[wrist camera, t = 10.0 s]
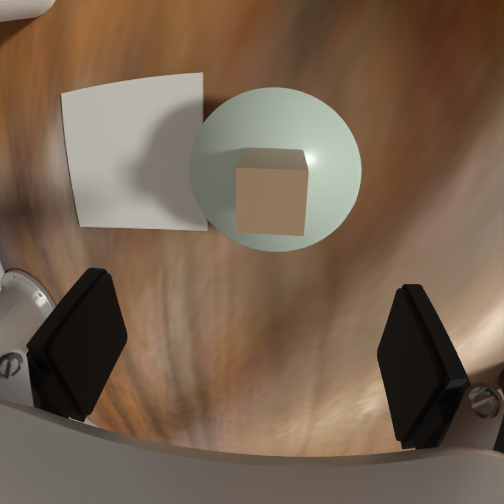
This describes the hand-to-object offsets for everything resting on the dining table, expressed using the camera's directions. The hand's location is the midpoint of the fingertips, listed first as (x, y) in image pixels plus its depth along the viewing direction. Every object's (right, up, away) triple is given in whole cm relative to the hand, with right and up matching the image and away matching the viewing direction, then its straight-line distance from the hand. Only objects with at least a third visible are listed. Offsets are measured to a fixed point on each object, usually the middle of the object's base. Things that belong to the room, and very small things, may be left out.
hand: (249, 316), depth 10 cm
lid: (+2, +8, +14) cm, 17 cm away
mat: (-12, +12, +21) cm, 27 cm away
